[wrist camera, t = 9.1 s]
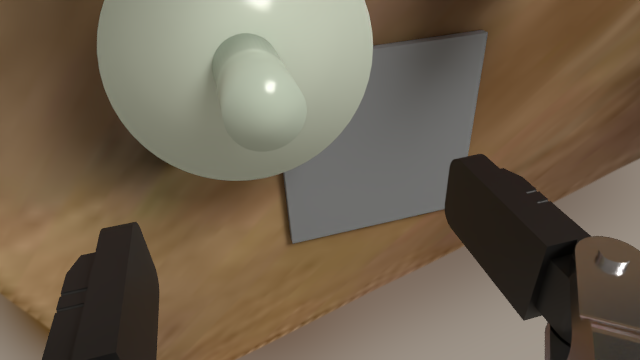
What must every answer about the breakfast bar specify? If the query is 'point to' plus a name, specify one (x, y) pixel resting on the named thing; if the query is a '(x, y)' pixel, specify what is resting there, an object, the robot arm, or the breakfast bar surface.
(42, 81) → the breakfast bar surface
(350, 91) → the lid
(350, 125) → the mat
